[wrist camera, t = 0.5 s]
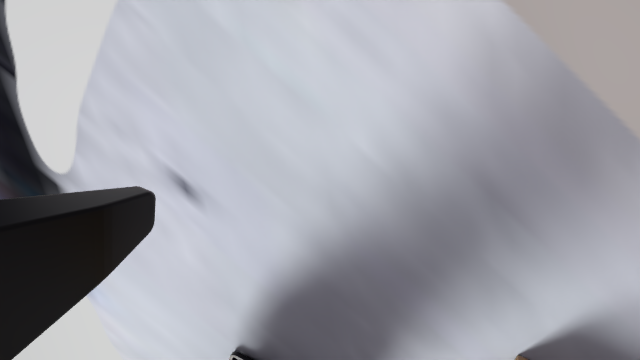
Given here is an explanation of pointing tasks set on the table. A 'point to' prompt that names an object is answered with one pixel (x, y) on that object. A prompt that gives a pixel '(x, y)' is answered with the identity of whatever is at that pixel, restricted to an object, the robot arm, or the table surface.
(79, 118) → the table surface
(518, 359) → the walnut cubby
